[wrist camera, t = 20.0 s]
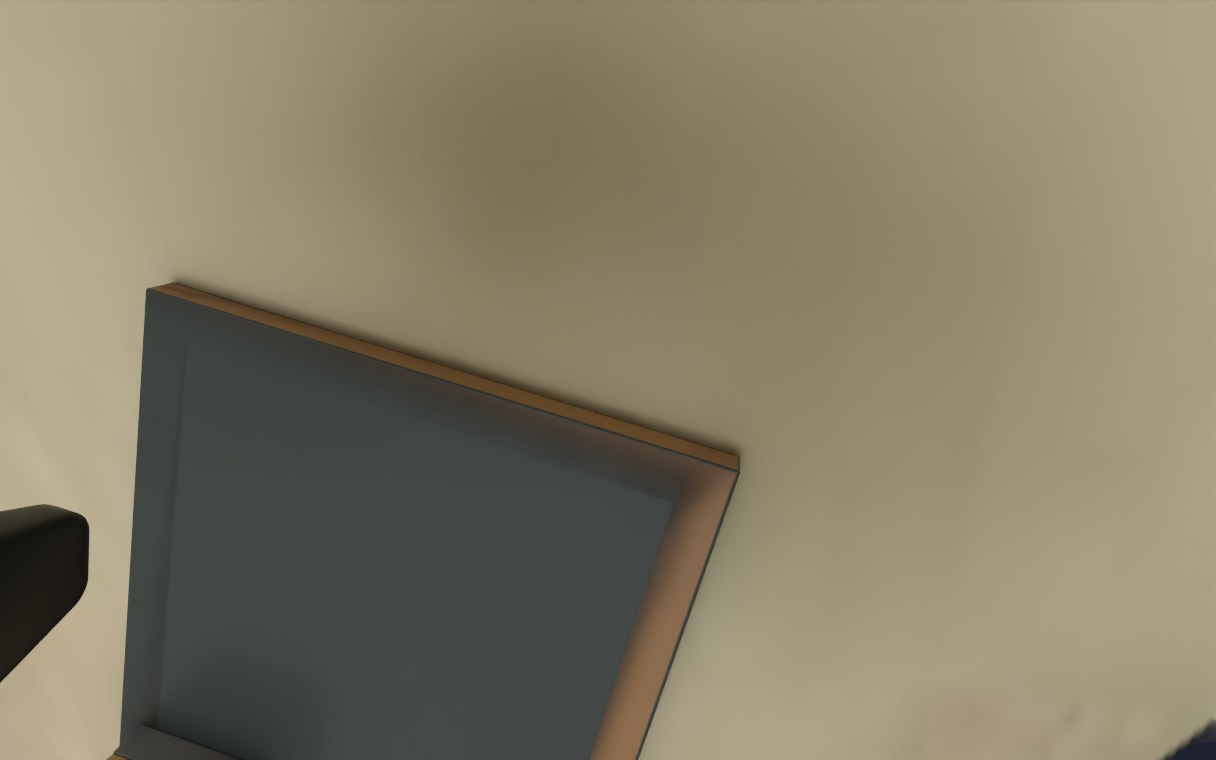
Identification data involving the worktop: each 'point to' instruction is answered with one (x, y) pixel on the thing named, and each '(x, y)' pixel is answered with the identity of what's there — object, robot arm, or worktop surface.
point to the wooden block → (163, 748)
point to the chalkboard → (396, 552)
